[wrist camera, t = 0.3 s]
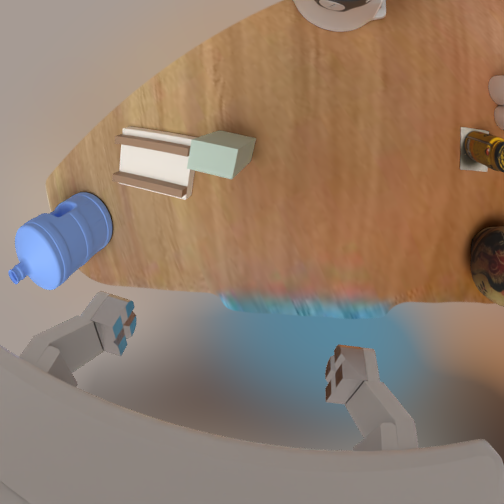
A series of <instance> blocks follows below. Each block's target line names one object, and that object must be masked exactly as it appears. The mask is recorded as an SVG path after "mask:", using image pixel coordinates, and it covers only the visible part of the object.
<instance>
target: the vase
mask: <svg viewBox="0 0 504 504" xmlns="http://www.w3.org/2000/svg"><path fill="white" fill-rule="evenodd" d="M488 89H489V93H490V96H491V98H492V99H493V101H494V102H495V103H496V104H498V105H500V106H497V107H496V109H495V111H494V119H495V122H496V124H497V126H498V127H499V128H500V129H502V130H504V75H499V76H493V77H492V78H491V79H490V81H489V85H488Z"/></svg>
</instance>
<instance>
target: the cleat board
mask: <svg viewBox="0 0 504 504" xmlns="http://www.w3.org/2000/svg"><path fill="white" fill-rule="evenodd" d="M195 138H197V137H192V136H187V135H181V134H176V133H170V132H164V131H158V130H152V129H145V128H138V127H127V128H123V134H121V135H117V136H115V143H116V144H121V156H120V171H119V172H116V173H114V174H113V180H112V181H114V182H119V183H120V184H124V185H128V186H132V187H137V188H141V189H145V190H149V191H153V192H157V193H161V194H165V195H169V196H173V197H177V198H181V199H184V200H186V199H187V198H188V197H190V196H191V194H192V187H193V180H194V174H195V170H191V169H187V165H188V159H189V152H190V146H191V140H192V139H195Z"/></svg>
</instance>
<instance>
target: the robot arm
mask: <svg viewBox="0 0 504 504" xmlns="http://www.w3.org/2000/svg"><path fill="white" fill-rule="evenodd" d="M293 1H294V3H295V5H296V7H297V9H298V10H299V12H300V13H301V14H302V16H303V17H304V18H306V19H307V20H308V21H309V22H311V23H312V24H314V25H316V26H318V27H320V28H323V29H326V30H330V31H338V32H344V31H351V30H355V29H357V28H360V27H361V26H363V25H365V24H366V23H367V22H369V21H371V20H378V19H382V18H384V17H385V15H386V0H293ZM380 7H381V8H380ZM133 309H134V303H133V301H131V300H128V299H125V298H122V297H119V296H116V295H113V294H109V293H106V292H103V291H100V292H98V293H97V294H96V295H95V297H94V298H93V299H92V301H91V302H90V303H89V305H88V306H87V307H86V309H85V310H84V312H83V313H82V314H81V316H75V317H73V318H71V319H69V320H67V321H65V322H63V323H61V324H58V325H56V326H54V327H52V328H50V329H48V330H46V331H44V332H42V333H40V334H37V335H35V336H34V337H33V338H32V340H31V341H30V342H29V344H28V345H27V347H26V348H25V349H24V351H23V352H22V354H21V355H20V357H18V356H17V355H15V354H13V353H12V352H10V351H9V350H7V349H6V348H4V347H3V346H1V345H0V504H504V465H503V462H502V459H501V457H500V456H499V455H498V453H497V452H496V451H495V450H494V449H493V447H492V446H491V445H490V444H489V443H488V442H487V441H486V440H484V439H477V440H472V441H467V442H461V443H455V444H449V445H442V446H435V447H425V448H418V441H417V433H416V426H415V421H414V420H413V419H412V417H411V416H410V415H409V414H408V413H407V411H406V410H405V409H404V408H403V406H402V405H401V404H400V403H399V401H398V400H397V399H396V398H395V396H394V395H393V394H392V393H391V391H390V390H389V389H388V388H387V387H386V386H385V384H384V383H383V382H380V378H379V372H378V366H377V361H376V354H375V351H374V349H369V348H361V347H354V346H346V345H337V346H336V348H335V350H334V355H333V356H332V357H330V359H329V361H328V363H327V367H326V373H325V375H326V376H325V379H326V380H327V382H328V383H329V384H328V385H327V387H326V402H329V403H338V404H345V406H346V408H347V410H348V412H349V413H350V415H351V416H352V418H353V420H354V422H355V424H356V425H357V427H358V429H359V430H360V432H361V434H362V436H363V438H364V439H363V440H362V441H361V442H359V443H358V444H357V445H356V446H355V447H353V451H338V450H319V449H306V448H296V447H286V446H278V445H271V444H264V443H257V442H251V441H245V440H240V439H235V438H229V437H225V436H220V435H215V434H211V433H206V432H203V431H198V430H194V429H191V428H187V427H183V426H180V425H176V424H172V423H169V422H166V421H163V420H159V419H156V418H153V417H150V416H147V415H144V414H141V413H138V412H135V411H132V410H130V409H127V408H124V407H121V406H119V405H116V404H114V403H111V402H109V401H106V400H104V399H102V398H99V397H97V396H94V395H92V394H90V393H87V392H85V391H83V390H81V389H79V388H77V381H76V380H75V378H74V376H73V374H72V373H73V372H74V371H76V370H77V369H79V368H80V367H82V366H83V365H84V364H86V363H87V362H89V361H90V360H92V359H93V358H95V357H96V356H98V355H99V354H101V353H102V352H103V351H106V352H109V353H112V354H115V355H118V356H121V355H122V354H123V352H124V350H125V348H126V346H127V341H126V339H128V338H130V337H131V336H132V335H133V333H134V330H135V327H136V315H135V314H134V313H133Z"/></svg>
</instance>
